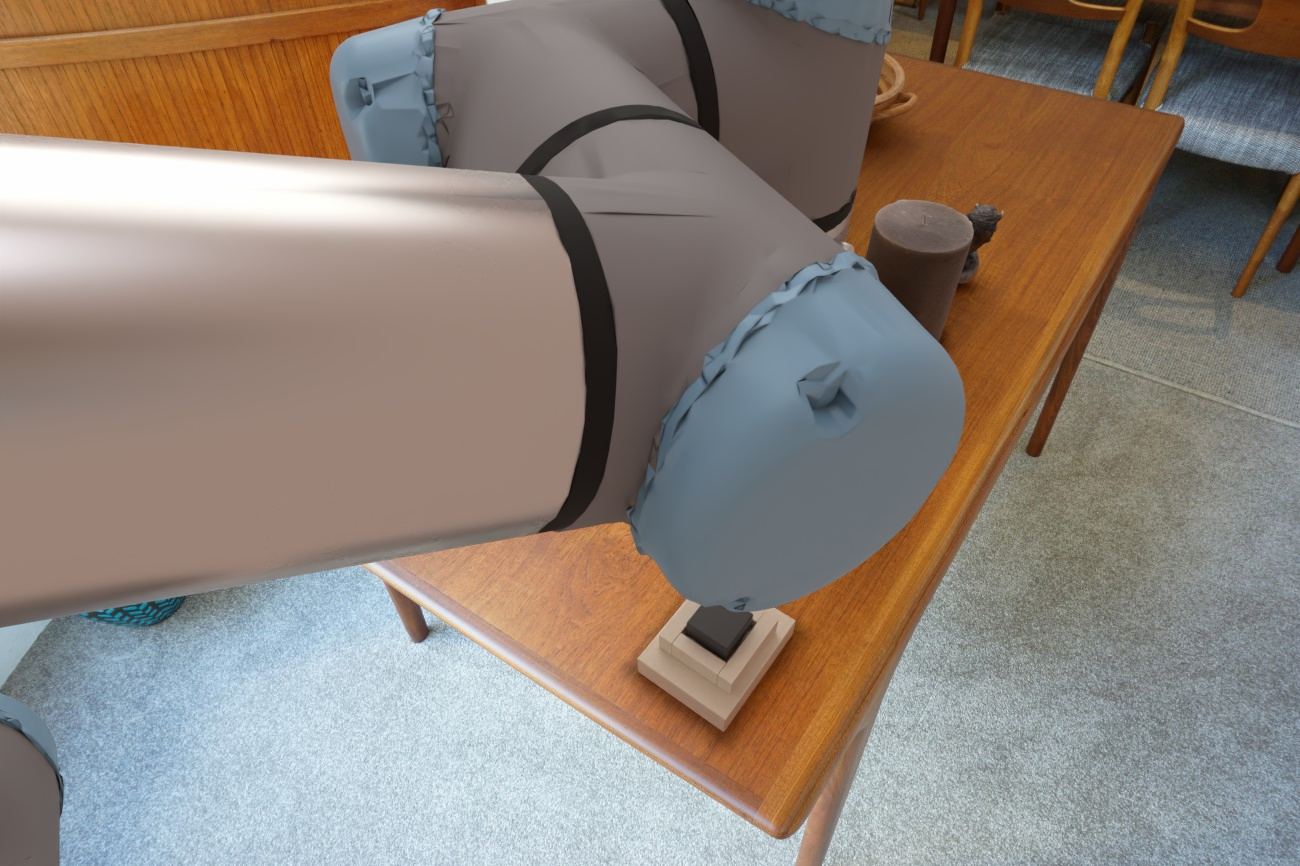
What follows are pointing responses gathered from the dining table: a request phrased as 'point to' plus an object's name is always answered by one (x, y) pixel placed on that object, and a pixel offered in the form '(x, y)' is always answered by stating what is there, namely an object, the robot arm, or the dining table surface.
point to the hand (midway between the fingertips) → (728, 562)
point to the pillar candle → (921, 257)
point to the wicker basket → (892, 92)
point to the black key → (718, 628)
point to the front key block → (714, 663)
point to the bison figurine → (979, 236)
